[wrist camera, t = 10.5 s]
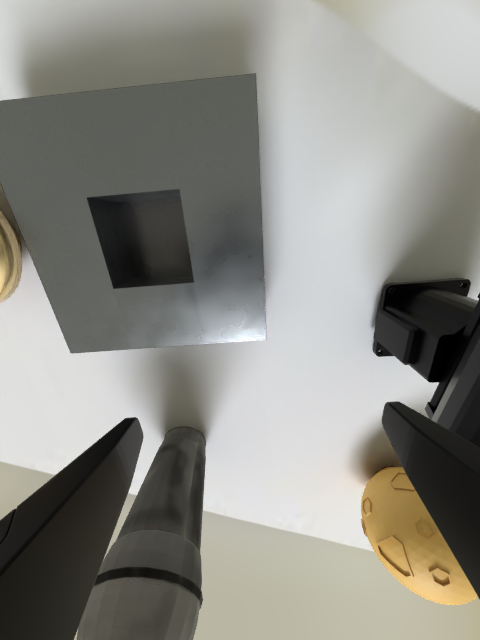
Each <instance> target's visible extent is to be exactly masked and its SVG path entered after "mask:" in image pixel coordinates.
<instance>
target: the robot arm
mask: <svg viewBox="0 0 480 640" xmlns="http://www.w3.org/2000/svg"><path fill="white" fill-rule="evenodd" d="M462 283H463V285H462V286H461V284H462ZM470 285H471V282H470V281H469V280H468V279H464V278H456V279H443V280H430V281H417V282H404V283H390V284H387V285H385V286H384V288H383V291H382V297H381V303H380V309H379V311H378V313H377V320H376V326H375V332H374V339H375V341H374V347H373V352H374V353H375V354H376V355H377V356H379V357H383V356H395V357H396V358H397V359H398V360H400V361H401V362H402V363H403V364H405V365H410V366H411V367H412V368H413V369H414V370H416V371H417V372H418V373H419V374H420V375H421V376H423V377H424V378H425V379H426V380H427V381H428V382H439V385H438V387H437V389H436V391H435V393H434V395H433V397H432V399H431V401H430V402H428V403H427V405H426V407H425V410H426V412H427V414H428V416H429V418H430V419H429V418H427V417H425V416H423V415H422V414H420V413H418V412H416V411H415V410H413V409H411V408H409V407H407V406H406V405H404V404H402V403H400V402H387V403H386V404H385V406H384V411H383V416H382V424H383V427H384V429H385V431H386V434H387V436H388V438H389V440H390V442H391V444H392V446H393V448H394V451H395V453H396V455H397V457H398V459H399V461H400V463H401V465H402V467H403V469H404V471H405V473H406V475H407V477H408V478H409V480H410V482H411V483H412V485H413V487H414V489H415V490H416V492H417V494H418V495H419V497H420V499H421V500H422V502H423V504H424V506H425V507H426V509H427V511H428V512H429V514H430V516H431V517H432V519H433V521H434V523H435V524H436V526H437V528H438V529H439V531H440V533H441V534H442V536H443V538H444V540H445V541H446V543H447V545H448V546H449V548H450V550H451V551H452V553H453V555H454V557H455V558H456V560H457V562H458V563H459V565H460V567H461V568H462V570H463V572H464V574H465V575H466V577H467V579H468V580H469V582H470V584H471V585H472V587H473V589H474V591H475V592H476V594H477V596H478V597H479V599H480V293H479V295H478V298H479V301H477V300H474V299H471V298H468V297H467V295H468V292H469V288H470ZM460 286H461V287H460ZM390 288H392V291H391V292H389V289H390ZM380 349H382V350H381V351H380V352H378V351H379V350H380ZM142 442H143V432H142V429H141V425H140V422H139V420H138V418H136V417H133V418H125V419H124V420H123V421H121V422H120V423H119V424H118V425H116V426H115V427H114V428H113V429H112V430H110V431H109V432H108V433H107V434H105V435H104V436H103V437H102V438H100V439H99V440H98V441H97V442H96V443H94V444H93V445H92V446H91V447H89V448H88V449H87V450H86V451H85V452H83V453H82V454H81V455H80V456H78V457H77V458H76V459H75V460H74V461H72V462H71V463H70V464H69V465H67V466H66V467H65V468H64V469H63V470H61V471H60V472H59V473H58V474H56V475H55V476H54V477H53V478H52V479H50V480H49V481H48V482H47V483H46V484H44V485H43V486H42V487H41V488H39V489H38V490H37V491H36V492H34V493H33V494H32V495H31V496H29V497H28V498H27V499H26V500H25V501H23V502H22V503H21V504H20V505H18V506H17V509H14V510H12V511H11V512H10V513H9V514H8V515H6V516H5V517H4V518H3V519H1V520H0V640H74V637H75V635H76V632H77V629H78V627H79V624H80V621H81V619H82V616H83V613H84V610H85V608H86V605H87V602H88V600H89V597H90V594H91V591H92V589H93V586H94V583H95V581H96V578H97V575H98V573H99V570H100V567H101V564H102V562H103V559H104V556H105V554H106V551H107V548H108V545H109V543H110V540H111V537H112V535H113V532H114V529H115V527H116V524H117V521H118V518H119V516H120V513H121V510H122V507H123V505H124V502H125V500H126V497H127V494H128V491H129V488H130V486H131V482H132V479H133V475H134V472H135V468H136V464H137V460H138V457H139V453H140V449H141V445H142Z"/></svg>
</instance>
